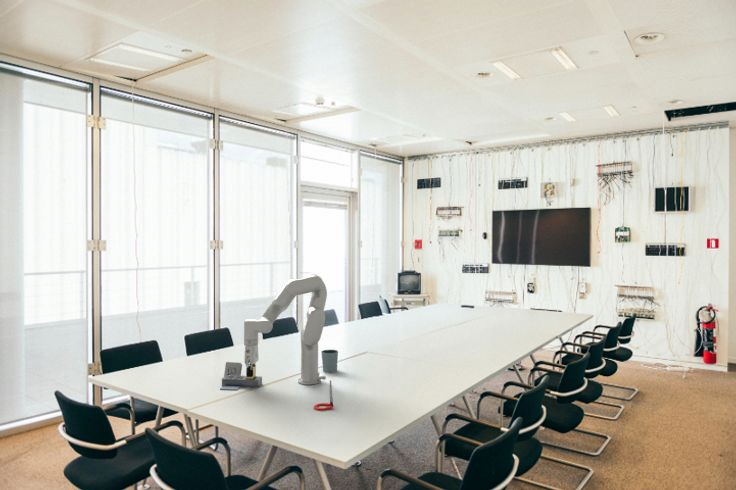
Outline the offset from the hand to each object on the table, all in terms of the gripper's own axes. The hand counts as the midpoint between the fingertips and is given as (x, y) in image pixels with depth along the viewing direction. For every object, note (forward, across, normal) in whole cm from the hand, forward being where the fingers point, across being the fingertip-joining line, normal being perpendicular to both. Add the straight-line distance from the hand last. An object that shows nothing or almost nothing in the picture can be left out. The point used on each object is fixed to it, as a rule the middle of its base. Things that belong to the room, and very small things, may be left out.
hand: (251, 375), depth 267 cm
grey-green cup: (+6, +34, -37) cm, 51 cm away
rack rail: (+5, 0, +5) cm, 7 cm away
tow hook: (+6, -30, -46) cm, 56 cm away
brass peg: (+5, 0, 0) cm, 5 cm away
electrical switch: (+6, +12, +15) cm, 20 cm away
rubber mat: (+5, -7, +9) cm, 13 cm away
